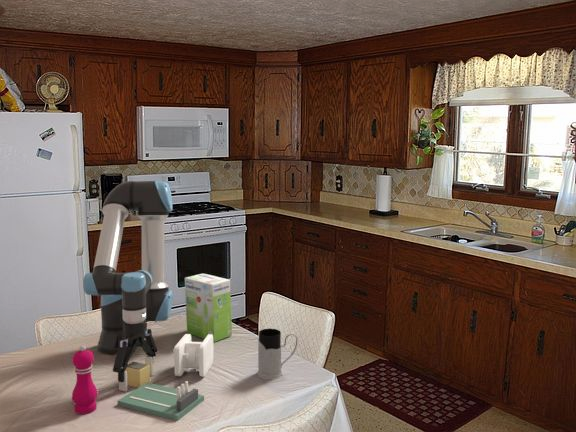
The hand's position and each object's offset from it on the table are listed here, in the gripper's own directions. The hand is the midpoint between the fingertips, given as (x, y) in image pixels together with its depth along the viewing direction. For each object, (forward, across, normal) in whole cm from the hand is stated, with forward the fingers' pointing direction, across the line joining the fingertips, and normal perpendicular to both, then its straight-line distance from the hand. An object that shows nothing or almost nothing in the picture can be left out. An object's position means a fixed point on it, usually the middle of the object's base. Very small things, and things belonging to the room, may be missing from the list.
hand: (136, 382), depth 184 cm
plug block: (0, 0, 0) cm, 0 cm away
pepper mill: (0, -21, +2) cm, 21 cm away
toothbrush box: (0, +49, +3) cm, 49 cm away
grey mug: (0, +27, -39) cm, 47 cm away
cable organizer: (0, +16, -12) cm, 20 cm away
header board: (0, -8, -16) cm, 18 cm away
